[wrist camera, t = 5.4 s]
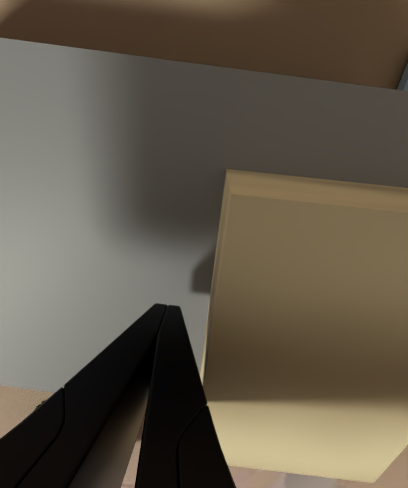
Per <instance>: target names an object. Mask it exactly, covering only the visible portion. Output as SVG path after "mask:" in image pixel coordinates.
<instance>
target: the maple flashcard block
mask: <svg viewBox="0 0 408 488" xmlns="http://www.w3.org/2000/svg"><path fill="white" fill-rule="evenodd" d="M200 378H201V381H202V385H203V389H204V392H205V396H206V399H207V405H208V406H209V409H210V413H211V416H212V420H213V423H214V427H215V430H216V433H217V436H218V439H219V443H220V446H221V449H222V451H223V454H224V457H225V460H226V462H227V465H230V466H238V467H246V468H254V469H263V470H271V471H279V472H287V473H296V474H305V475H312V476H320V477H328V478H337V479H345V480H353V481H361V482H369V483H374V482H375V481H376V479H377V478H378V477H379V476H380V475H381V474H382V473H383V472H384V471H385V469H386V468H387V467H388V466H389V465H390V464H391V463H392V462H393V460H394V459H395V458H396V457H397V456H398V455H399V454H400V453H401V452H402V450H403V449H404V448H405V447H406V446H407V445H408V188H404V187H394V186H385V185H375V184H365V183H356V182H346V181H337V180H327V179H318V178H308V177H298V176H289V175H279V174H270V173H260V172H251V171H241V170H231V169H226V175H225V183H224V191H223V199H222V206H221V214H220V222H219V230H218V237H217V245H216V253H215V261H214V269H213V276H212V284H211V292H210V300H209V307H208V315H207V323H206V331H205V338H204V346H203V354H202V362H201V370H200Z"/></svg>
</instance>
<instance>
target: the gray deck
mask: <svg viewBox="0 0 408 488" xmlns="http://www.w3.org/2000/svg"><path fill="white" fill-rule="evenodd" d="M226 169H231V170H241V171H251V172H260V173H270V174H279V175H289V176H298V177H308V178H318V179H327V180H337V181H346V182H356V183H365V184H375V185H385V186H394V187H404V188H408V91H403V90H396V89H388V88H380V87H373V86H365V85H358V84H350V83H342V82H335V81H327V80H319V79H312V78H304V77H296V76H289V75H281V74H274V73H266V72H258V71H251V70H243V69H235V68H228V67H220V66H213V65H205V64H197V63H190V62H182V61H174V60H167V59H159V58H152V57H144V56H136V55H129V54H121V53H113V52H106V51H98V50H90V49H83V48H75V47H68V46H60V45H52V44H45V43H37V42H29V41H22V40H14V39H7V38H0V385H2V386H9V387H16V388H24V389H31V390H39V391H46V392H54V393H55V392H56V391H57V390H59V389H60V388H61V387H63V388H64V384H65V383H67V382H68V381H69V380H70V379H71V378H72V377H73V376H74V375H76V374H77V373H78V372H79V371H80V370H81V369H82V368H83V367H84V366H86V365H87V364H88V363H89V362H90V361H91V360H92V359H93V358H95V357H96V356H97V355H98V354H99V353H100V352H101V351H102V350H104V349H105V348H106V347H107V346H108V345H109V344H110V343H111V342H112V341H114V340H115V339H116V338H117V337H118V336H119V335H120V334H121V333H123V332H124V331H125V330H126V329H127V328H128V327H129V326H130V325H131V324H133V323H134V322H135V321H136V320H137V319H138V318H139V317H140V316H142V315H143V314H144V313H145V312H146V311H147V310H148V309H149V308H150V307H152V306H153V305H154V304H155V303H160V304H167V305H176V306H180V307H181V310H182V314H183V317H184V321H185V325H186V328H187V332H188V335H189V339H190V342H191V346H192V349H193V353H194V357H195V360H196V364H197V367H198V371H199V374H200V370H201V362H202V354H203V346H204V338H205V331H206V323H207V315H208V307H209V300H210V292H211V284H212V276H213V269H214V261H215V253H216V245H217V237H218V230H219V222H220V214H221V206H222V199H223V191H224V183H225V175H226Z"/></svg>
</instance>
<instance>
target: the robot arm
mask: <svg viewBox="0 0 408 488" xmlns="http://www.w3.org/2000/svg"><path fill="white" fill-rule="evenodd" d="M145 412H146V414H145ZM144 415H145V421H144V427H143V434H142V441H141V448H140V455H139V461H138V468H137V475H136V482H135V488H236V486H235V483H234V481H233V478H232V476H231V473H230V470H229V468H228V465H227V462H226V460H225V457H224V454H223V451H222V449H221V446H220V443H219V439H218V436H217V433H216V430H215V427H214V423H213V420H212V416H211V413H210V409H209V406H208V405H207V399H206V396H205V392H204V389H203V385H202V381H201V378H200V374H199V371H198V367H197V364H196V360H195V357H194V353H193V349H192V346H191V342H190V339H189V335H188V332H187V328H186V325H185V321H184V317H183V314H182V310H181V307H180V306H176V305H167V304H160V303H155V304H154V305H153V306H152V307H150V308H149V309H148V310H147V311H146V312H145V313H144V314H143V315H142V316H140V317H139V318H138V319H137V320H136V321H135V322H134V323H133V324H131V325H130V326H129V327H128V328H127V329H126V330H125V331H124V332H123V333H121V334H120V335H119V336H118V337H117V338H116V339H115V340H114V341H112V342H111V343H110V344H109V345H108V346H107V347H106V348H105V349H104V350H102V351H101V352H100V353H99V354H98V355H97V356H96V357H95V358H93V359H92V360H91V361H90V362H89V363H88V364H87V365H86V366H84V367H83V368H82V369H81V370H80V371H79V372H78V373H77V374H76V375H74V376H73V377H72V378H71V379H70V380H69V381H68V382H67V383H65V384H64V388H63V387H61V388H60V389H59V390H57V391H56V392H55V393H54V394H53V395H52V396H51V397H50V398H49V399H47V400H46V401H45V402H44V403H43V404H40V405H38V406H37V407H36V409H35V410H34V411H33V412H32V413H31V414H30V415H29V416H28V417H26V418H25V419H24V420H23V421H22V422H21V423H19V424H18V425H17V426H16V427H14V428H13V429H12V430H11V431H9V432H8V433H7V434H6V435H4V436H3V437H2V438H1V439H0V488H121V485H122V482H123V479H124V476H125V473H126V470H127V466H128V463H129V460H130V457H131V454H132V451H133V448H134V445H135V442H136V439H137V436H138V433H139V430H140V427H141V424H142V421H143V418H144Z"/></svg>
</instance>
